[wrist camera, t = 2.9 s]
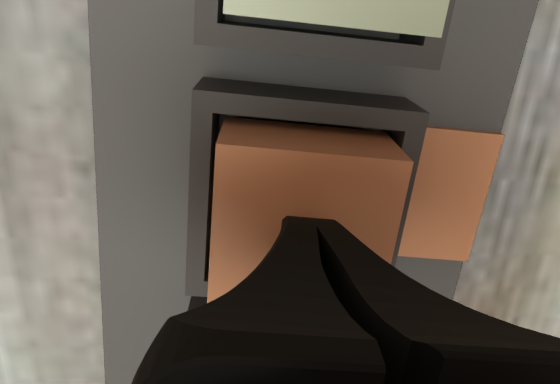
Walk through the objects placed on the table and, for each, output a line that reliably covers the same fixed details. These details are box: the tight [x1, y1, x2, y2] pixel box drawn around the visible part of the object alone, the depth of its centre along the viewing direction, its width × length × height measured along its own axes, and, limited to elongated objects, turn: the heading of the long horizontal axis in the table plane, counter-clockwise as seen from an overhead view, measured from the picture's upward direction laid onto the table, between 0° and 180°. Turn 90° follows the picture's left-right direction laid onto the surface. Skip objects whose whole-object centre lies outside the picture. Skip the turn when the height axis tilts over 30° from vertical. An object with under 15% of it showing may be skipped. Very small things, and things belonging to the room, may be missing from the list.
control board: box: [88, 0, 539, 384], centre depth 16 cm, size 14×27×4 cm, turn 174°
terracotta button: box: [207, 117, 414, 303], centre depth 14 cm, size 5×5×3 cm
